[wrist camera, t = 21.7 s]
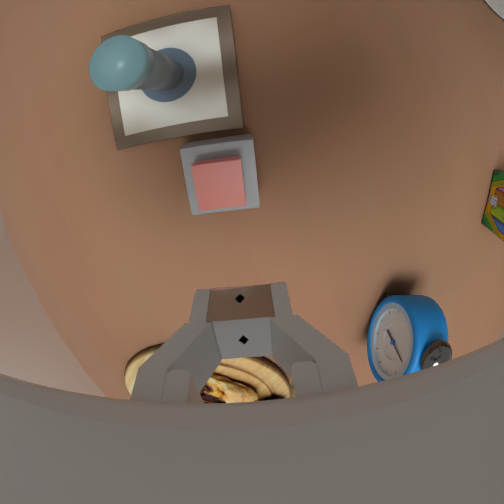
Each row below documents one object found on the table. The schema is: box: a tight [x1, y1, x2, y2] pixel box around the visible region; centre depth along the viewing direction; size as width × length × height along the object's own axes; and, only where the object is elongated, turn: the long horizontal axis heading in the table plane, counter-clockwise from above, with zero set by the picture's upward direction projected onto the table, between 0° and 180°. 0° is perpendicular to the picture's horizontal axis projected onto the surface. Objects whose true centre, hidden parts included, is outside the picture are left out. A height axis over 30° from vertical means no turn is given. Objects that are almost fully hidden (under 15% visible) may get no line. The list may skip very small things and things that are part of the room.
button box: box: [180, 134, 260, 215], centre depth 26 cm, size 6×6×4 cm
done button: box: [191, 155, 246, 211], centre depth 24 cm, size 4×4×4 cm
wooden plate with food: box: [125, 344, 291, 403], centre depth 46 cm, size 32×32×8 cm
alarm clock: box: [367, 293, 452, 382], centre depth 33 cm, size 13×6×15 cm, turn 173°
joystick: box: [89, 35, 183, 91], centre depth 16 cm, size 3×3×12 cm
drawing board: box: [101, 5, 243, 150], centre depth 22 cm, size 13×13×1 cm
